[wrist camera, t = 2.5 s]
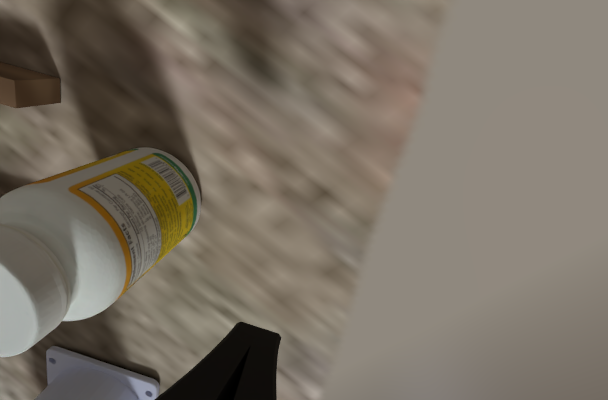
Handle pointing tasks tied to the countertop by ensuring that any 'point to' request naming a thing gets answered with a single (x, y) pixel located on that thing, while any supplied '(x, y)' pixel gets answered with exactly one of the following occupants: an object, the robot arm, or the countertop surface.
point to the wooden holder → (27, 87)
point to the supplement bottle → (87, 239)
